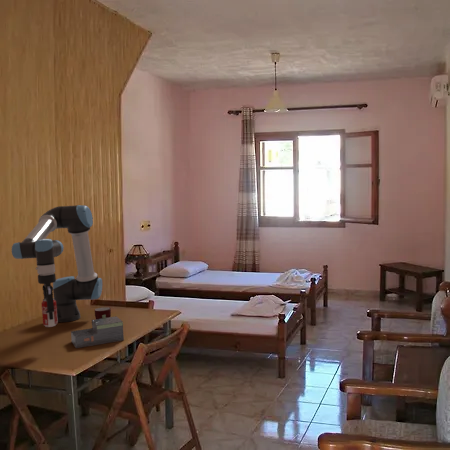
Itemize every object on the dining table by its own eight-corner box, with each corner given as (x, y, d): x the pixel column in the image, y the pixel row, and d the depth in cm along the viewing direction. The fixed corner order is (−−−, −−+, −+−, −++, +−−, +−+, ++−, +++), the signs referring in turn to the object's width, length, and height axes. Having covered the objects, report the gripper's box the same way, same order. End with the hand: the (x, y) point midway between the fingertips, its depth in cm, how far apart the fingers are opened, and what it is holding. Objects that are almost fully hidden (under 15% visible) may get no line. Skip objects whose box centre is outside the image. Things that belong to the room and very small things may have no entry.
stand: (71, 344, 262) (70, 319, 261) (117, 337, 271) (116, 313, 270) (76, 351, 251) (74, 325, 250) (124, 343, 260) (122, 318, 259)
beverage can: (45, 324, 252) (43, 298, 251) (59, 323, 252) (57, 297, 251) (41, 327, 245) (39, 301, 244) (56, 326, 246) (54, 300, 245)
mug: (106, 331, 277) (105, 312, 276) (91, 331, 278) (89, 312, 277) (114, 326, 287) (112, 307, 286) (99, 326, 289) (98, 307, 288)
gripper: (35, 271, 254) (39, 321, 256) (40, 278, 236) (44, 330, 239) (52, 269, 257) (56, 318, 259) (58, 276, 239) (62, 328, 242)
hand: (50, 324), depth 249 cm, fingers closed on beverage can, 6 cm apart
